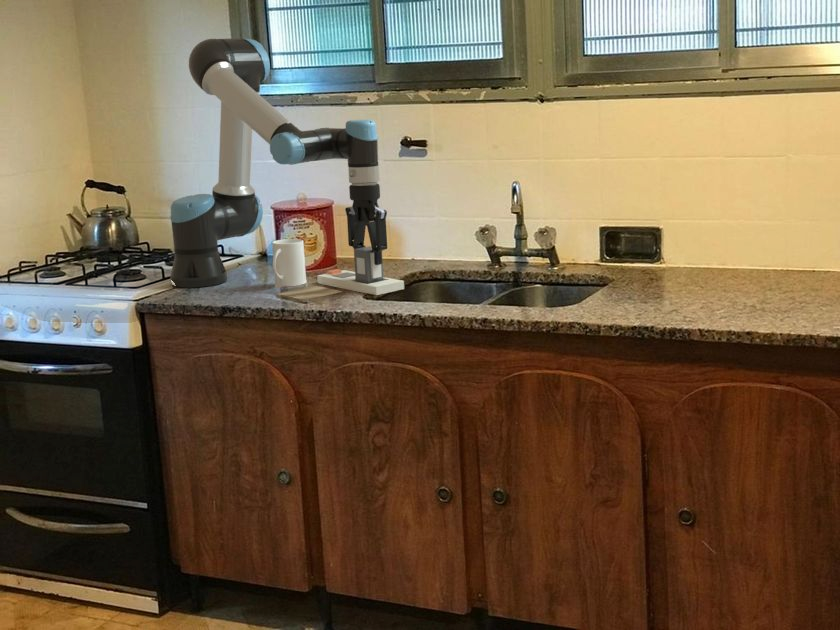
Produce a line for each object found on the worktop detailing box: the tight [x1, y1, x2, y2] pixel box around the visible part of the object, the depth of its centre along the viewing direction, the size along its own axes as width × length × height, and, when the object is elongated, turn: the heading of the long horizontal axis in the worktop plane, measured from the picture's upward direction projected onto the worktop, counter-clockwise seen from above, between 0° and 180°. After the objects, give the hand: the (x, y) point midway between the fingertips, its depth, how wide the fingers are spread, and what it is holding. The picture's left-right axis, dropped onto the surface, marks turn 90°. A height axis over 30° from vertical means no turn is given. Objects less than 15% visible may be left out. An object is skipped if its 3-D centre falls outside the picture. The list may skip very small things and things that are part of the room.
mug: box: [271, 238, 308, 289], centre depth 269 cm, size 12×8×12 cm
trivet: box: [275, 285, 344, 305], centre depth 258 cm, size 12×12×1 cm
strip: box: [315, 268, 405, 296], centre depth 266 cm, size 30×9×4 cm, turn 42°
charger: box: [353, 245, 384, 284], centre depth 260 cm, size 5×5×10 cm
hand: (369, 275), depth 260 cm, fingers closed on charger, 5 cm apart
